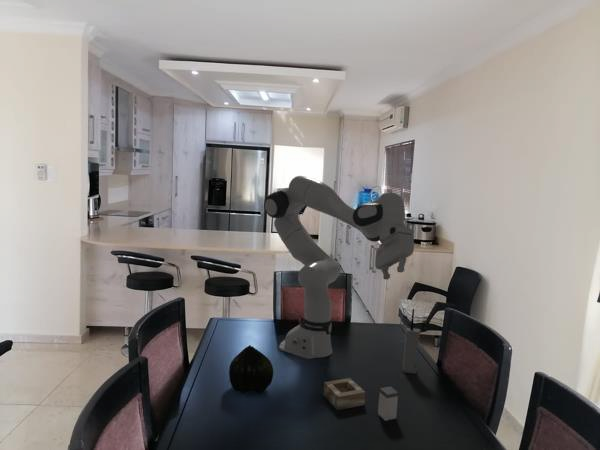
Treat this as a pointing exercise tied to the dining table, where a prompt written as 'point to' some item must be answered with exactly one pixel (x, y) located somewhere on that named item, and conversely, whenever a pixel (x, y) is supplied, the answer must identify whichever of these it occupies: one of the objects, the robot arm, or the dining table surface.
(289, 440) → the dining table surface
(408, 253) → the robot arm
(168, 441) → the dining table surface
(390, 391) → the pale rectangular box
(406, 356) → the vintage mobile phone
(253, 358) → the squash
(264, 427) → the dining table surface
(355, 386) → the box
